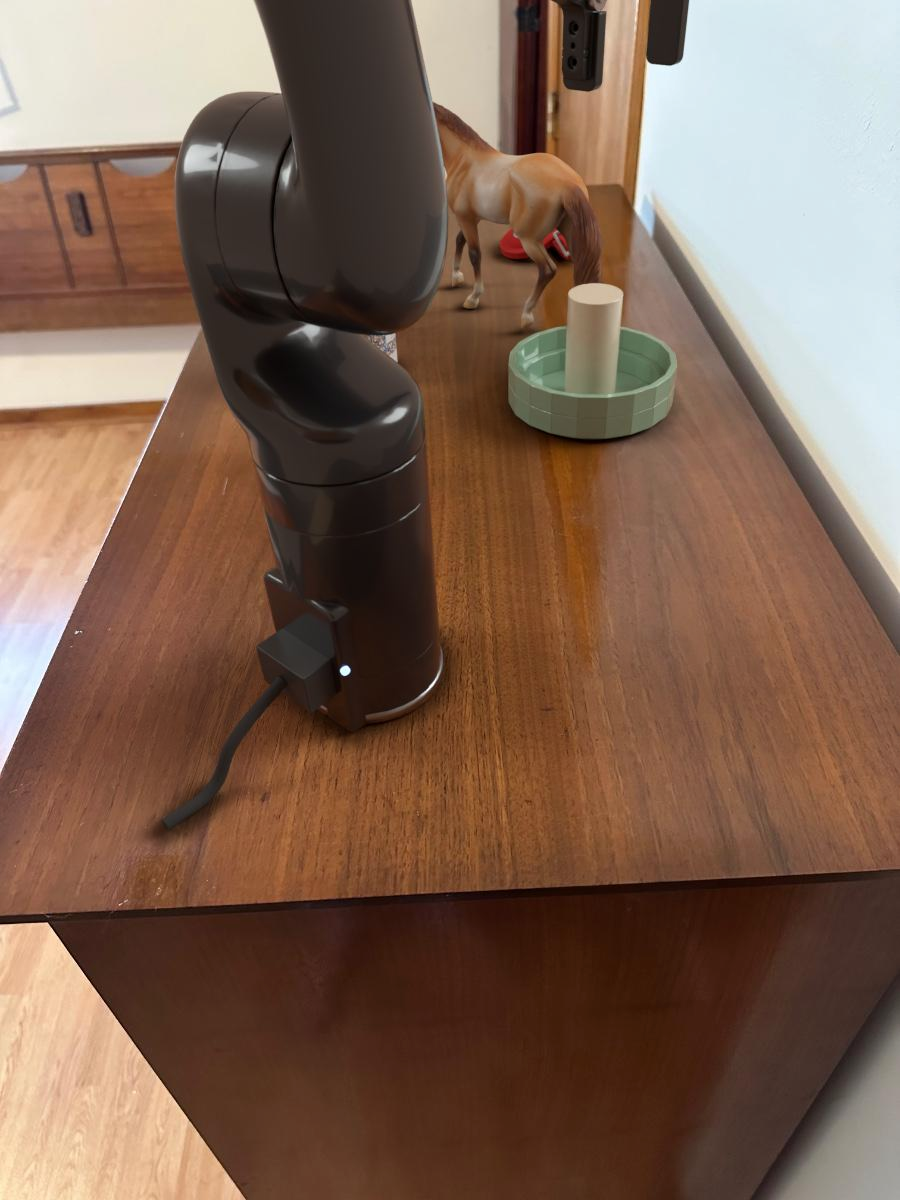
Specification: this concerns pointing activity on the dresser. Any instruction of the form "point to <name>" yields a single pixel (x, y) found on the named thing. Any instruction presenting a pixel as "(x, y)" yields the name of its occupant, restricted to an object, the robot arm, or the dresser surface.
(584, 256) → the horse figurine
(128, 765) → the dresser surface
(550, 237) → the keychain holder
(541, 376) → the bowl
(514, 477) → the dresser surface
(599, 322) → the beige cylinder
